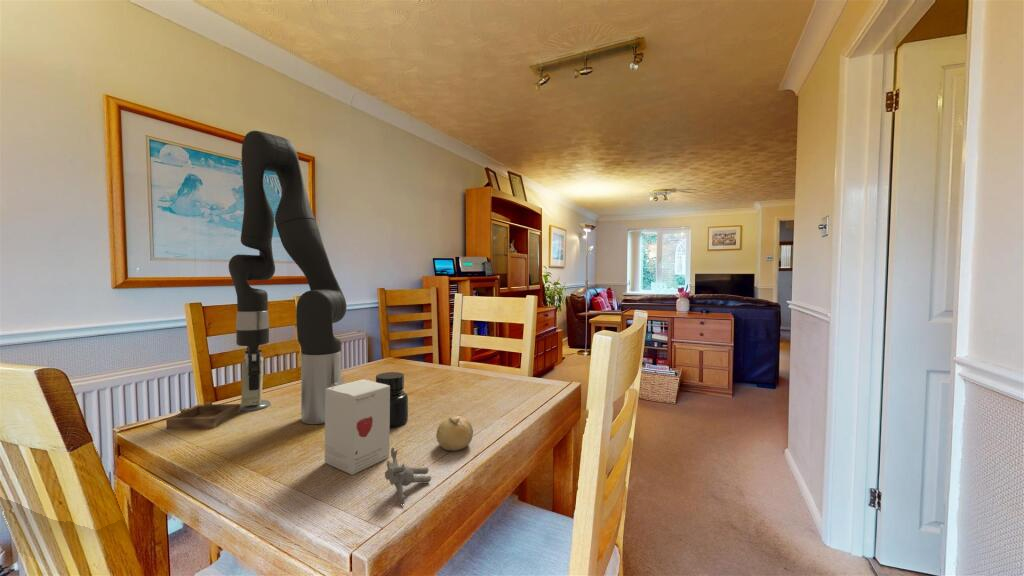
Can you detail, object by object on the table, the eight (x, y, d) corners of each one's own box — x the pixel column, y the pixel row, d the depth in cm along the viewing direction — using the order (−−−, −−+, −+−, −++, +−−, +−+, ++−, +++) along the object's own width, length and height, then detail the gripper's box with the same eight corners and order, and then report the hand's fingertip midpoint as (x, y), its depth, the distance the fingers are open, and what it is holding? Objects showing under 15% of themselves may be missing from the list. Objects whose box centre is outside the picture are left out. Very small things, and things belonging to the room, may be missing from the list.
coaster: (275, 401, 112) (275, 399, 112) (260, 411, 104) (260, 409, 104) (246, 402, 111) (246, 400, 111) (228, 412, 103) (228, 409, 103)
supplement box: (351, 476, 71) (352, 396, 70) (323, 463, 76) (323, 388, 75) (391, 457, 79) (391, 384, 78) (362, 446, 83) (363, 378, 83)
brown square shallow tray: (240, 412, 102) (240, 401, 102) (213, 428, 92) (213, 415, 92) (197, 413, 101) (197, 402, 101) (166, 429, 91) (165, 416, 91)
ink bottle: (373, 416, 101) (373, 371, 100) (408, 414, 103) (408, 369, 103) (369, 431, 91) (369, 381, 91) (407, 428, 94) (407, 379, 93)
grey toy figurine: (445, 494, 66) (401, 496, 60) (423, 512, 68) (378, 516, 61) (431, 441, 72) (390, 438, 66) (412, 458, 74) (370, 457, 68)
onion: (428, 447, 84) (428, 414, 83) (456, 436, 90) (456, 405, 89) (452, 458, 78) (452, 424, 78) (480, 446, 84) (480, 414, 84)
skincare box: (259, 405, 105) (262, 360, 105) (239, 406, 103) (242, 361, 103) (261, 398, 111) (264, 356, 111) (243, 400, 109) (245, 357, 109)
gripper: (270, 329, 103) (271, 391, 103) (267, 323, 115) (267, 379, 115) (236, 331, 98) (236, 395, 99) (236, 325, 110) (236, 383, 111)
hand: (253, 386), depth 107 cm, fingers closed on skincare box, 6 cm apart
